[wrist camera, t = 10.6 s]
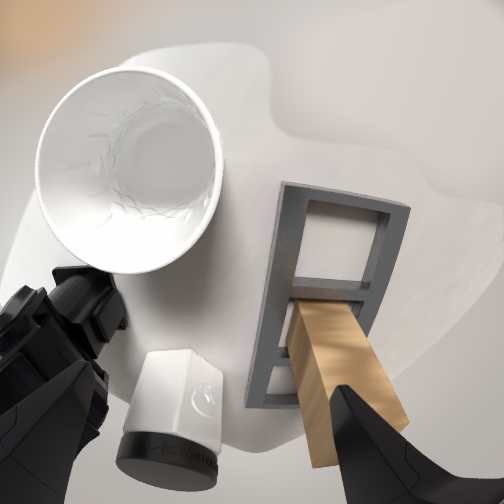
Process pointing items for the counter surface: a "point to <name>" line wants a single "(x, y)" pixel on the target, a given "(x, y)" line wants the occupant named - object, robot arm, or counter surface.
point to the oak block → (334, 371)
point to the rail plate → (317, 279)
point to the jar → (174, 423)
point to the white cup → (129, 170)
